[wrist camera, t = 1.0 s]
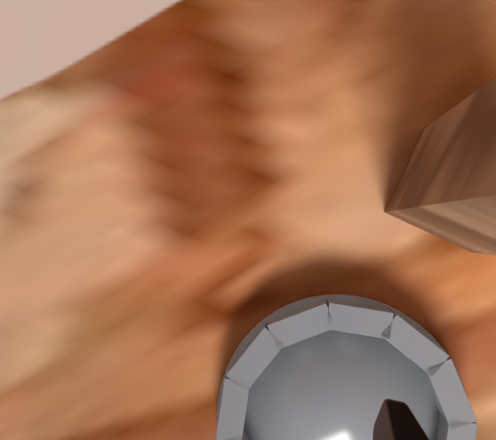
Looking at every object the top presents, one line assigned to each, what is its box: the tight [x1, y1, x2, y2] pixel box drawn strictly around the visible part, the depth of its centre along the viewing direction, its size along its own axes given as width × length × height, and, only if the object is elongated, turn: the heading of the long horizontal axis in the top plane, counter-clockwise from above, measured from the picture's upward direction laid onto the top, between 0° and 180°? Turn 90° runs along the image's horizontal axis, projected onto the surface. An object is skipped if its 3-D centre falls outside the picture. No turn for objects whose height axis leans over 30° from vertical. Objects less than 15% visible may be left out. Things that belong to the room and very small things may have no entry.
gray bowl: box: [216, 293, 477, 440], centre depth 21 cm, size 12×12×2 cm
